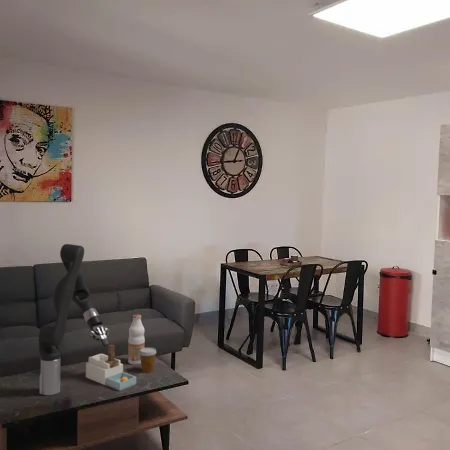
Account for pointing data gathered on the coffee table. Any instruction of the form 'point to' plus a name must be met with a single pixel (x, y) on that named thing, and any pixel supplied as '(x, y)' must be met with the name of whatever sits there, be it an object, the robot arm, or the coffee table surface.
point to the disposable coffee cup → (147, 359)
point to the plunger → (112, 356)
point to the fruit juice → (136, 340)
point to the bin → (116, 384)
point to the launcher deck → (101, 368)
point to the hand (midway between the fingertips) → (106, 345)
